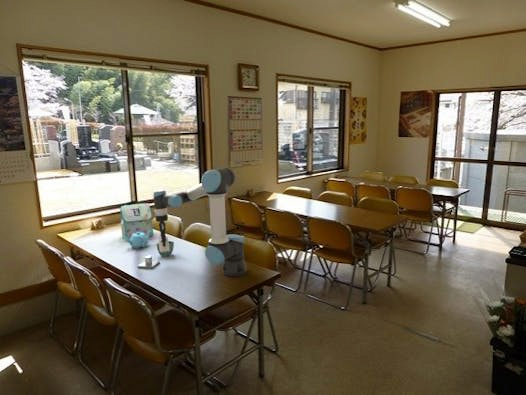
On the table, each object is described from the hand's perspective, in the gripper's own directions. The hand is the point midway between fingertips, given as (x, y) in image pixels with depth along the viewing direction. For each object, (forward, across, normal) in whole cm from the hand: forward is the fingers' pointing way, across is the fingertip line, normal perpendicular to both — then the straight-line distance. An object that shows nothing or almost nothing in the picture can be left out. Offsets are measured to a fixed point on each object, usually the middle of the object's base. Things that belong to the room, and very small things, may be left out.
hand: (164, 249), depth 248 cm
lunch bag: (+9, -69, -17) cm, 72 cm away
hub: (+10, -2, -10) cm, 14 cm away
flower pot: (+10, -18, +2) cm, 21 cm away
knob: (0, 0, 0) cm, 0 cm away
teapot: (+9, -43, -16) cm, 47 cm away
